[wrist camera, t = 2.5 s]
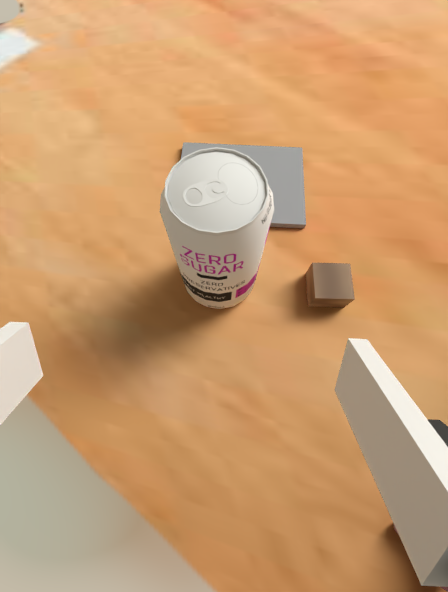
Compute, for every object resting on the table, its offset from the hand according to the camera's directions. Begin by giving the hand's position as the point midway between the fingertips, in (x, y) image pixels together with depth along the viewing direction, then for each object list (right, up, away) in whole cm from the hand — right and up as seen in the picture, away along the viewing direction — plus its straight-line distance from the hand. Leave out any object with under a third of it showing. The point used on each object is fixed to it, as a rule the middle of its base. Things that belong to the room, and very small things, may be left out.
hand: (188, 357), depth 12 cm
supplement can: (+1, +5, +22) cm, 22 cm away
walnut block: (+13, +3, +21) cm, 25 cm away
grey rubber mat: (+4, +17, +26) cm, 31 cm away
